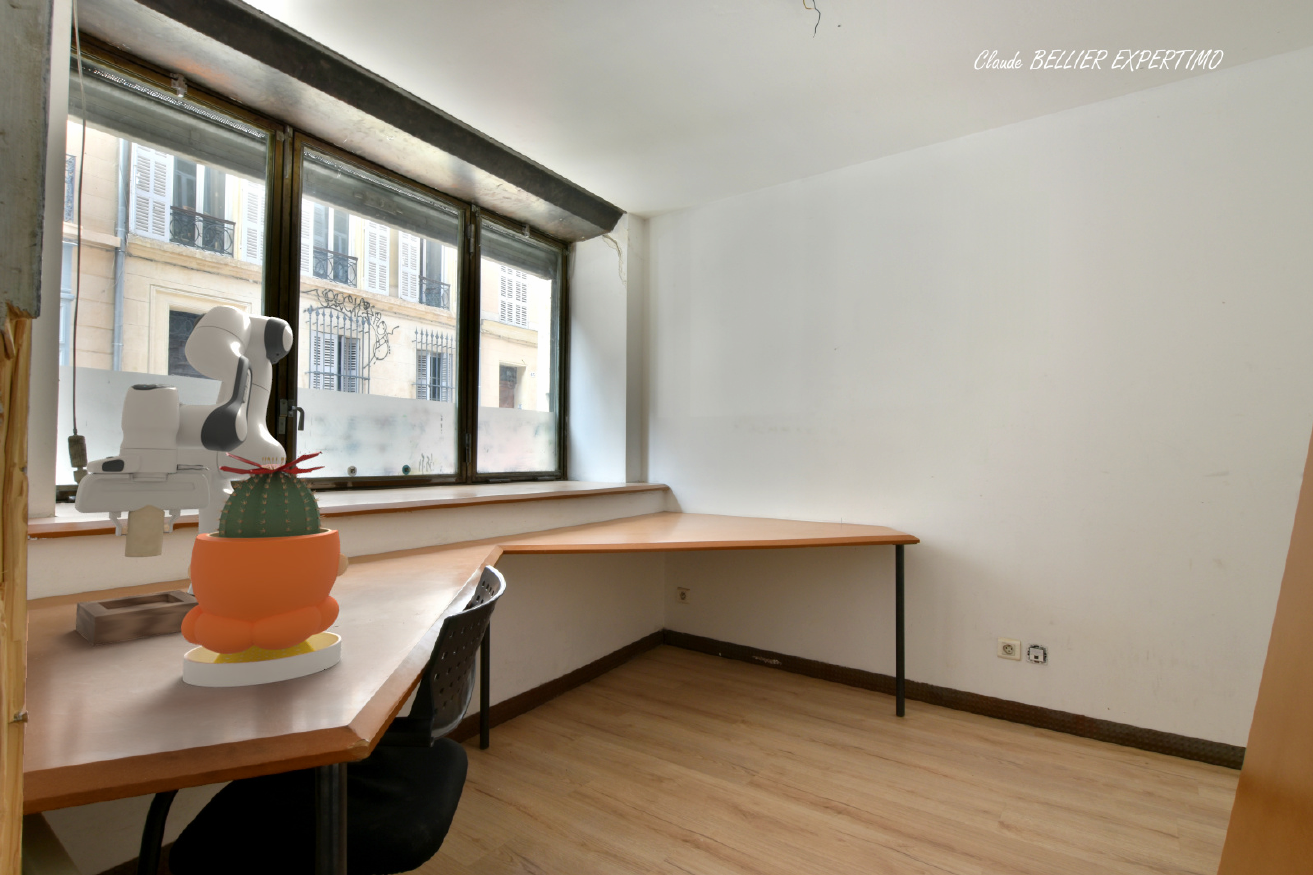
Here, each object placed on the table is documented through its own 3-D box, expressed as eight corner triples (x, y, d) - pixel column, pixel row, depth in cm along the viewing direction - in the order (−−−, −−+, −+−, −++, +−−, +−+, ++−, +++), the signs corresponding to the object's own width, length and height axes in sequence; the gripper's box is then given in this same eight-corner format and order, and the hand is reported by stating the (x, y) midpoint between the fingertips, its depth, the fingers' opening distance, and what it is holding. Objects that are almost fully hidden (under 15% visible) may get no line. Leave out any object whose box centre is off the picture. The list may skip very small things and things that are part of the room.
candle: (163, 556, 117) (167, 505, 118) (126, 558, 113) (130, 505, 114) (159, 553, 121) (163, 503, 122) (122, 555, 117) (127, 504, 118)
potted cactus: (199, 658, 100) (209, 449, 101) (348, 644, 109) (356, 452, 110) (150, 707, 80) (163, 447, 82) (337, 685, 89) (346, 450, 90)
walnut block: (178, 615, 128) (179, 589, 128) (202, 629, 118) (204, 601, 119) (75, 631, 115) (77, 602, 116) (93, 648, 106) (95, 616, 106)
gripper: (206, 464, 129) (203, 529, 128) (75, 463, 112) (70, 537, 112) (216, 464, 125) (213, 531, 124) (82, 463, 109) (77, 539, 108)
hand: (144, 534), depth 118 cm, fingers closed on candle, 5 cm apart
